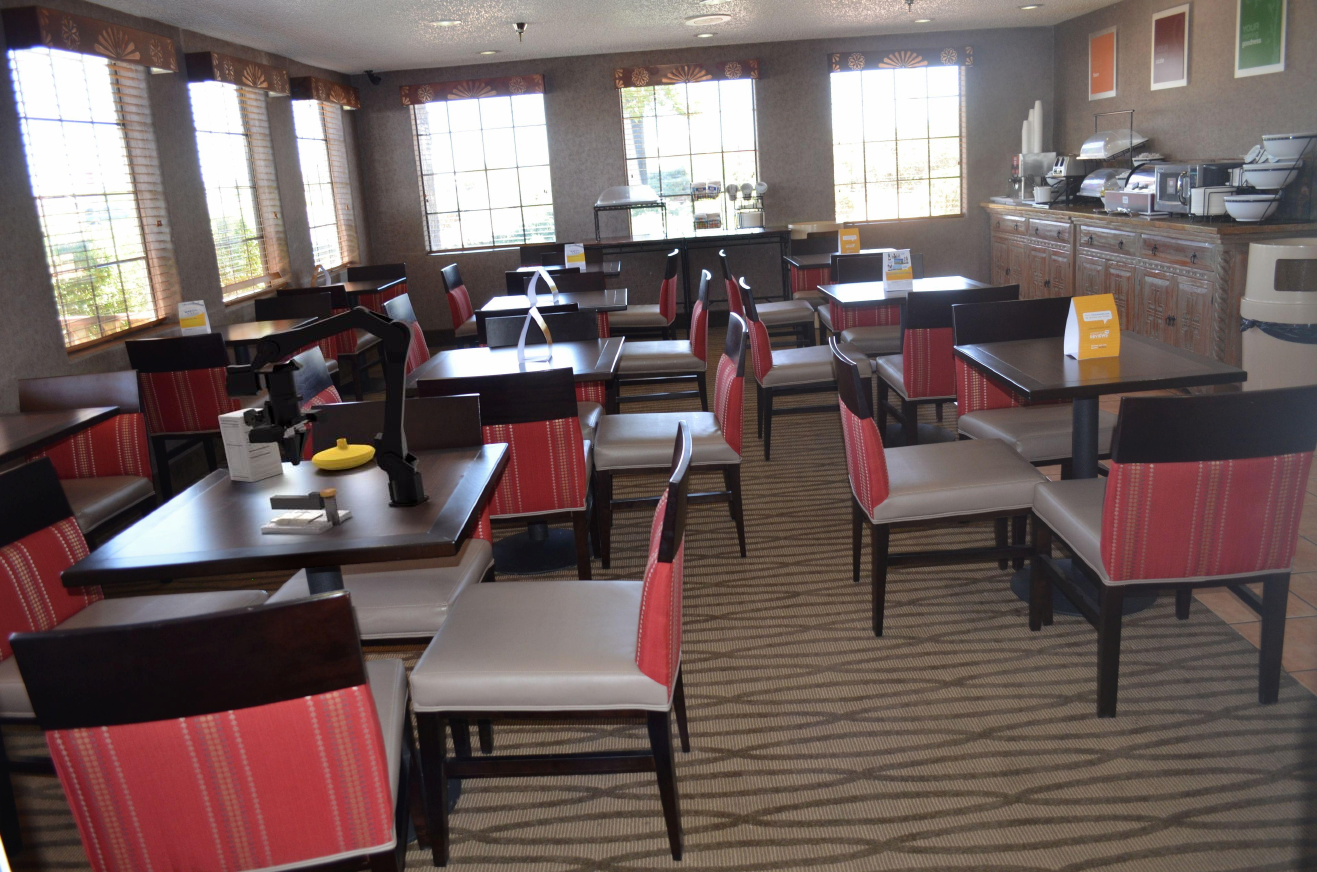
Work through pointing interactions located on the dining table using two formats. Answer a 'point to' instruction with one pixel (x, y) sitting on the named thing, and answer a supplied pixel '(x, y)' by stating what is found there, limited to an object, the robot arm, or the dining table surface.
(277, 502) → the bar
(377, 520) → the dining table surface
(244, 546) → the dining table surface
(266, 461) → the supplement box
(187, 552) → the dining table surface
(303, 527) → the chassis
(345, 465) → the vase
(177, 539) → the dining table surface
